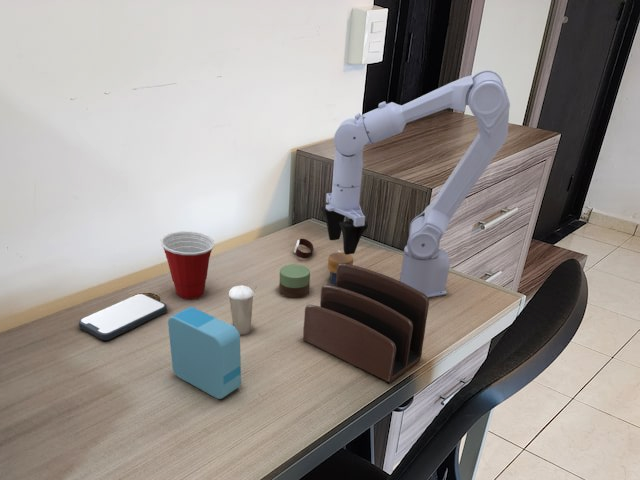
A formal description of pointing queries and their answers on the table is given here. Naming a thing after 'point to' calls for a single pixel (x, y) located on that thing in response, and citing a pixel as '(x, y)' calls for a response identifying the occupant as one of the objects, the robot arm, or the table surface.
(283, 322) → the table surface
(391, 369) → the letter holder
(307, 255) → the watch
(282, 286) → the walnut chip
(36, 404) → the table surface
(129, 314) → the smartphone
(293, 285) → the sage chip
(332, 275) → the small cup
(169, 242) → the plastic cup
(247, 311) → the milkshake
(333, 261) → the orange short cylinder
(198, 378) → the data package
